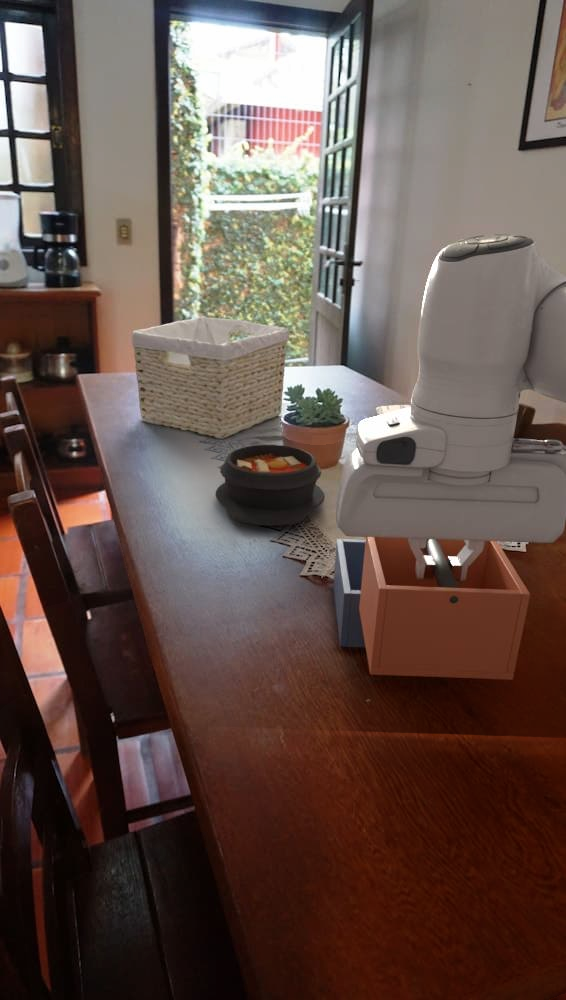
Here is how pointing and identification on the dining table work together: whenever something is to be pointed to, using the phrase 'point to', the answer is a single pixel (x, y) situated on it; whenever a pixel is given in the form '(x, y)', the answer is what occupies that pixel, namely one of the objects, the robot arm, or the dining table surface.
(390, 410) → the newspaper
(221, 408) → the basket
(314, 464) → the casserole
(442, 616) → the orange bin
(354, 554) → the lower bin
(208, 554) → the dining table surface
